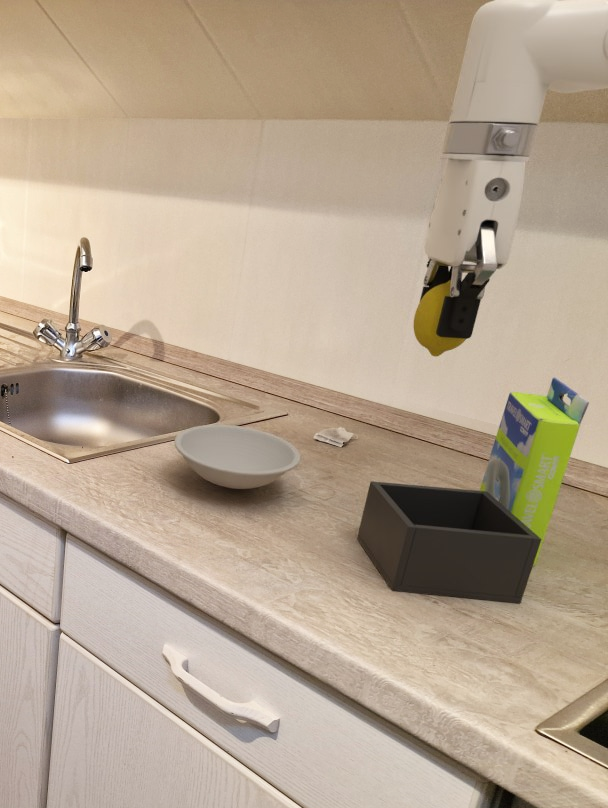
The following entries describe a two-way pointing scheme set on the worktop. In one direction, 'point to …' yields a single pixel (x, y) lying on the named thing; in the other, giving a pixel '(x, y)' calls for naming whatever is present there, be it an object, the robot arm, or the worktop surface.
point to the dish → (236, 455)
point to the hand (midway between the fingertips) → (442, 329)
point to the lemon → (433, 321)
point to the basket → (447, 542)
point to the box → (534, 453)
